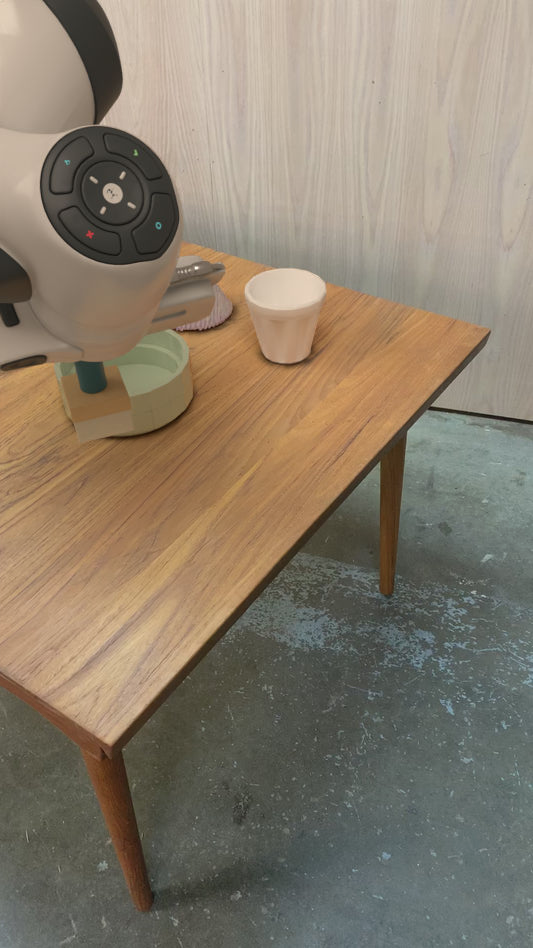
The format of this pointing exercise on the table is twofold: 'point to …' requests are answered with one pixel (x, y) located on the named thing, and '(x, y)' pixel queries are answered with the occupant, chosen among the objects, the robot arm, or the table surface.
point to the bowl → (149, 380)
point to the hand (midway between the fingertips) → (83, 345)
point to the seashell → (212, 313)
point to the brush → (97, 401)
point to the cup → (285, 312)
